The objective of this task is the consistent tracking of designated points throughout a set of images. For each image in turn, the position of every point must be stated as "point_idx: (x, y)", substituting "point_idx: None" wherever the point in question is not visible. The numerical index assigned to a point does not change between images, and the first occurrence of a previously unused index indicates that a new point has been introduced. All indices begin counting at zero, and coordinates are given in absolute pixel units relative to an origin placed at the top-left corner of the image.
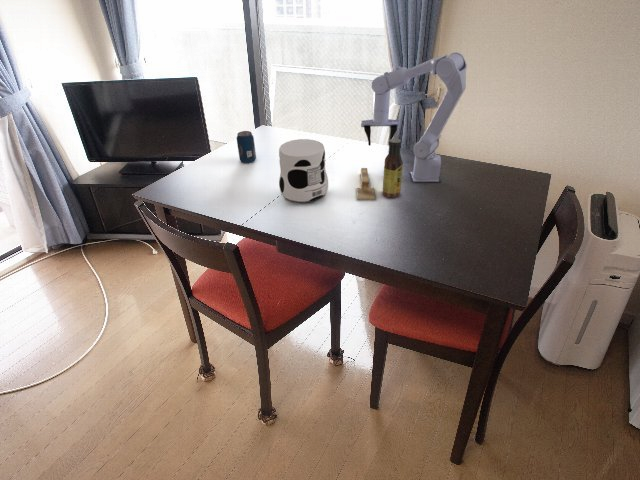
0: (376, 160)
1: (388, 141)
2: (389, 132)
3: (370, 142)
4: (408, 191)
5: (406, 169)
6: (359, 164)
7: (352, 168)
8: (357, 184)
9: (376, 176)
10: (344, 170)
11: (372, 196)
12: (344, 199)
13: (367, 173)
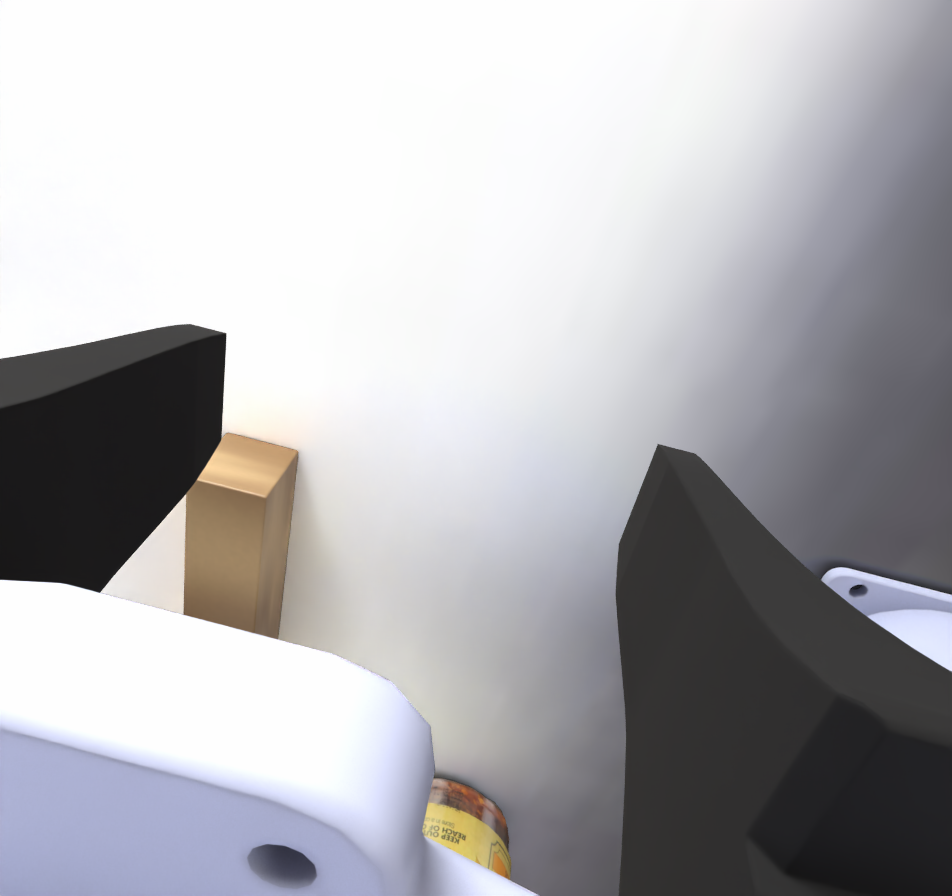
0: (543, 22)
1: (652, 499)
2: (703, 652)
3: (179, 497)
4: (603, 821)
5: (841, 460)
6: (238, 117)
7: (131, 231)
8: (178, 606)
9: (400, 518)
10: (28, 264)
11: None
12: None
13: (251, 619)
